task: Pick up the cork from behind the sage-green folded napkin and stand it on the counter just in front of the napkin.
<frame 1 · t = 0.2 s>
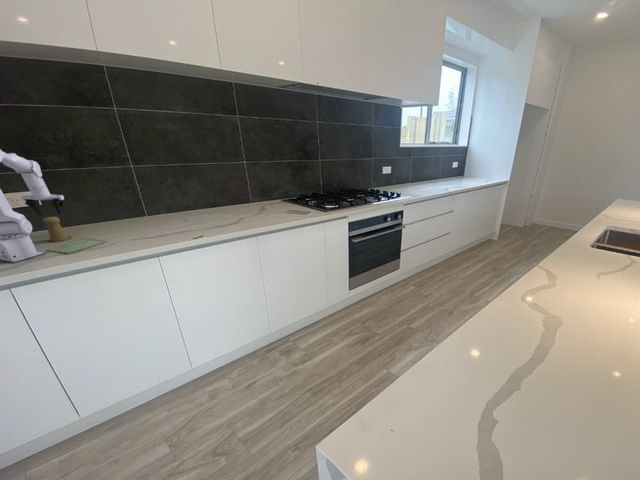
hand: (51, 214, 145), 10 cm above the counter, tool pointing down, fingers open, 7 cm apart
cork: (59, 239, 143), on the counter
napkin: (76, 246, 136), on the counter
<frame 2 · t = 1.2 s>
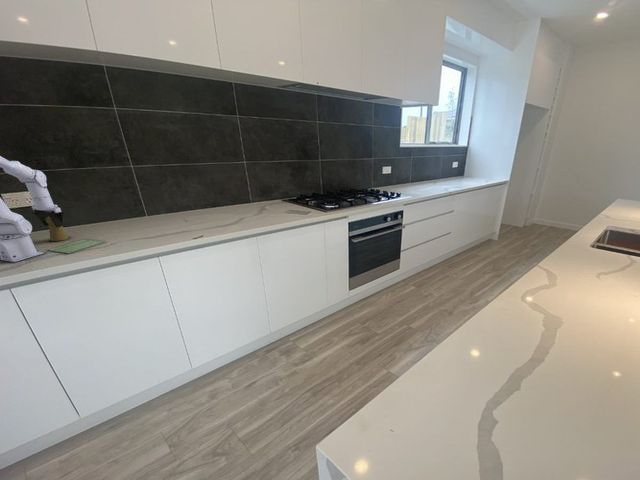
hand: (53, 225, 140), 7 cm above the counter, tool pointing down, fingers open, 7 cm apart
nothing on the counter moved.
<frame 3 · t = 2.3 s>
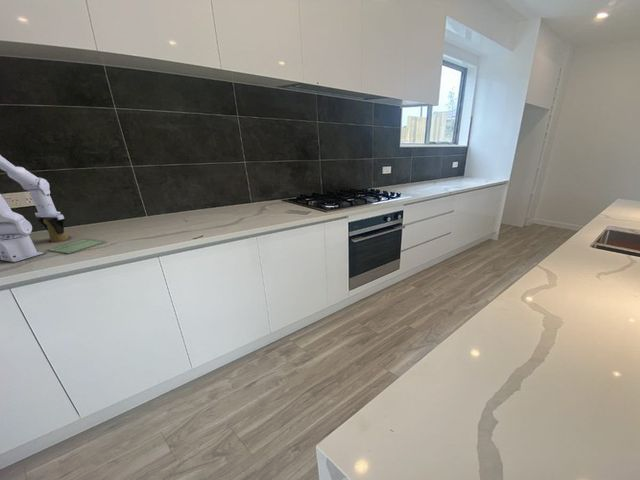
hand: (56, 232, 141), 3 cm above the counter, tool pointing down, fingers closed on cork, 5 cm apart
cork: (59, 239, 143), on the counter, touching gripper
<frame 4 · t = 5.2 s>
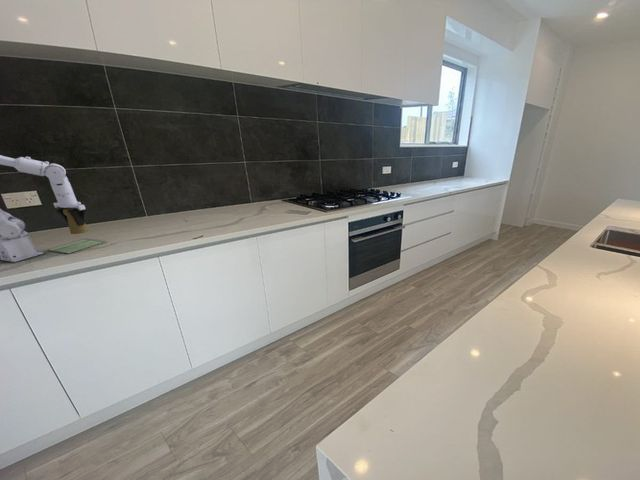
hand: (76, 224, 132), 10 cm above the counter, tool pointing down, fingers closed on cork, 5 cm apart
cork: (80, 232, 133), point 7 cm above the counter, touching gripper
when the fingers open (3 cm above the counter, at t = 8.4 s): cork stays where it is, on the counter.
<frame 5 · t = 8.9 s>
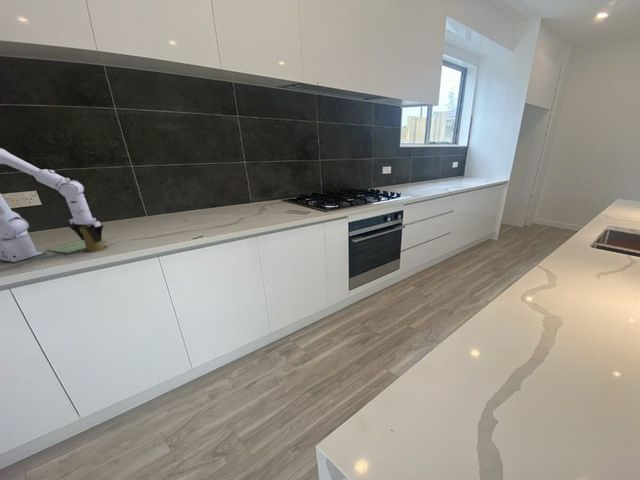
hand: (92, 240, 132), 4 cm above the counter, tool pointing down, fingers open, 7 cm apart
cork: (95, 249, 133), on the counter
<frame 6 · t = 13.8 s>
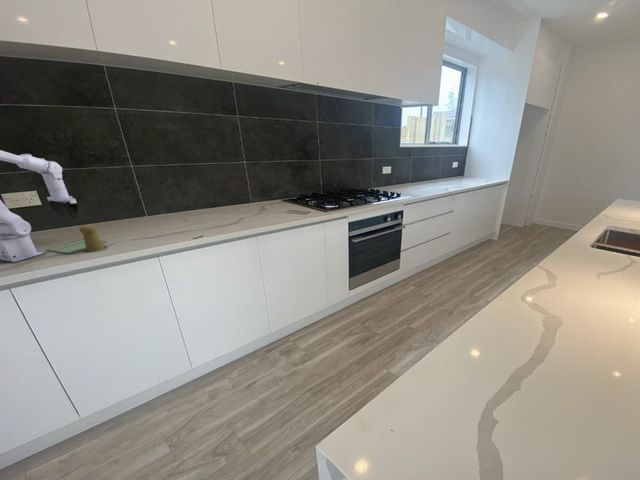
hand: (68, 217, 141), 10 cm above the counter, tool pointing down, fingers open, 7 cm apart
nothing on the counter moved.
at the end: cork inside the target area (0.3 cm from its centre), on the counter; cork tilted 0°; the gripper is holding nothing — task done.
